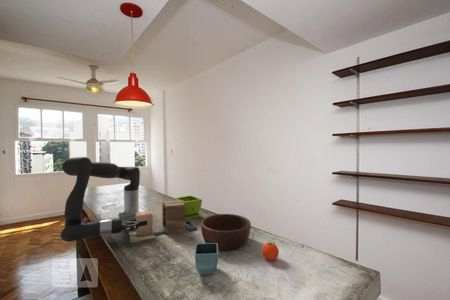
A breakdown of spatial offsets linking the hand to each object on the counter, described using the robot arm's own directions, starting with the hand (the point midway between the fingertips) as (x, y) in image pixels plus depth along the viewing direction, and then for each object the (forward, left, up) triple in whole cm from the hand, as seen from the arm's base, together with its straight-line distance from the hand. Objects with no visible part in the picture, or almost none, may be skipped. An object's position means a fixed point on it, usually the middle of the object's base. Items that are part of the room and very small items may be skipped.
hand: (146, 221), depth 115 cm
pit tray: (0, +24, -7) cm, 25 cm away
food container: (-15, -7, -7) cm, 18 cm away
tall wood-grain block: (0, +3, -7) cm, 8 cm away
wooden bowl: (+27, +35, -7) cm, 45 cm away
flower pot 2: (+46, +17, -7) cm, 50 cm away
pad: (0, -2, -7) cm, 7 cm away
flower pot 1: (-17, +29, -7) cm, 34 cm away
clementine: (+50, +45, -7) cm, 68 cm away
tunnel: (0, +15, -7) cm, 16 cm away
